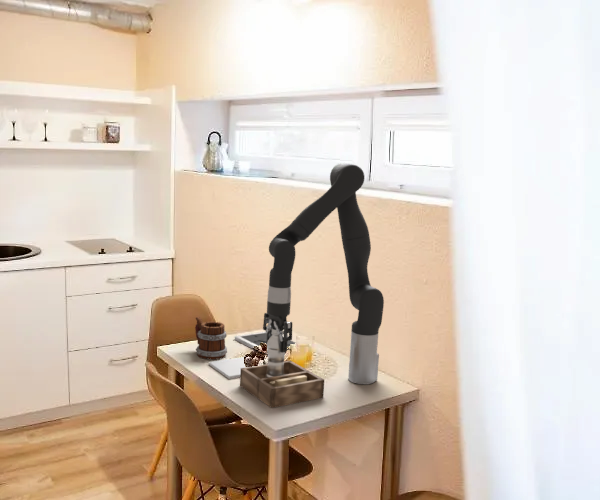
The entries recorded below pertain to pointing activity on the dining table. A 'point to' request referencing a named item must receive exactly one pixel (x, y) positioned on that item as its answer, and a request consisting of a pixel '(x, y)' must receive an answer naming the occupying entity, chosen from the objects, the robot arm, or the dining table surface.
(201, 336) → the mug
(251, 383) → the walnut divided box
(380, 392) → the dining table surface
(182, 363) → the dining table surface
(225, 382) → the dining table surface
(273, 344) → the plastic bottle
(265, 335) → the picture frame
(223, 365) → the grey plate
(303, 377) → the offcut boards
